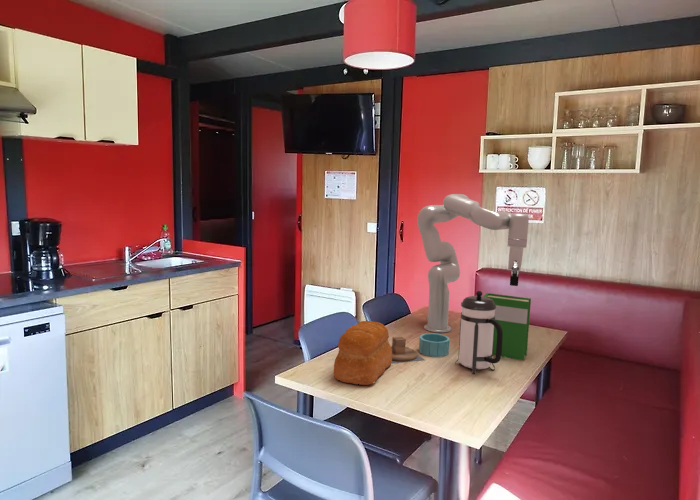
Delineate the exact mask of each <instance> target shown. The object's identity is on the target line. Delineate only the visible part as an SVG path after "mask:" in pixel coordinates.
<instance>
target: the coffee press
mask: <svg viewBox="0 0 700 500" xmlns="http://www.w3.org/2000/svg"><path fill="white" fill-rule="evenodd" d="M475 294H476V295H470V296H467V297H465V298H463V300H462V301H461V302H460V303H461V304H460V306H461V312H460V321H459V322H460V323H459V341H458V359H457V360H456V361H455V362H454V365H456V363H457V362H458V361H459V364H458V366H460V365H462V366H464V367H465V368H469V369H471V375H476V372H477V371H476V370H484V369H487V368H488V369H490V370H491V371H492V372H494V371H496V366H495V365H494V364H497V363H499V362H500V361H501V359H502V356H501V354H502V340H503V332H502V328H501V325H500V324H499V322H497V321H496V320H495V309H496V305H495V303H494V301H493V300H492V299H490V298H487V297H483V292H482V291H481V290H477V291H476V293H475ZM494 326H495V327H496V330H497V345H496V355H493V351H492V348H493V341H494V336H493V333H494ZM494 356H495V357H494ZM493 357H494V358H493ZM491 365H492V367H493V368H492V367H491Z"/></svg>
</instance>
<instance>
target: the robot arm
mask: <svg viewBox="0 0 700 500" xmlns="http://www.w3.org/2000/svg"><path fill="white" fill-rule="evenodd" d="M457 217H462V218H465V219H466V220H467V219H468V220H470V221H471V222H472V223H474V224H475V225H478V226H480V227H483V228H485V229H488V230H491V231H498V230H508V232H507V233H508V235H507V238H508V239H507V245H506V246H507V247H509V251H508V252H509V253H508V264H507V270H508V271H510V270H511V271H510V277H509V278H510V279H509V286H510V287H511V286H512V287H513V286H514V287H518V286H519V278H520V277H519V275H520V273H519V272H520V271H521V268H522V263H523V255H524V254H523V253H524V249H525V248H527V244H528V234H529V219H530V218H529V215H528V214H527V213H518V212H517V213H515V212H514V213H513V212H509V211H491V210H489V209H486V208H483V207H481V204H480V202H479V201H477V200H473V199H470V198H469V196H468V195H466V194H463V193H451V194H448V195H446V196H445V197H444V199H443V200H442V204H431V205H425V206H424V207H423V208H421V209H420V211H419V212H418V215H417V217H416V218H417V219H416V225H417V228H418V231H419V233H420V236H421V237H420V238H421V241H422V245H423V248H424V253H425V256H426V259H427V260H428V261H429V262H431V263H438V262H439V263H440V264H435V265H432V266H431V267H430V268H429V270H428V272H427V279H428V288H429V289H428V310H427V311H428V312H427V318H426V321H427V323H426V324H425V325H424V326H423V327H424V329H425V330H426V331H428V332H431V333H437V334H440V333H448V332H450V331H452V327H451V326H450V325H449V324H448V323H449V308H450V307H449V306H450V290H449V286H448V284H449V283H454V282H456V281H457V280H459V278H460V274H461V270H460V265H459V261H458V258H457V253H456V250H455V248H454V246H453V245H452V244H451V243H450V242H448V241H445V240H444V241H442V239H441V236H440V232H439V231H438V229H437V226H435V224H436V223H447V222H449V221H452V220H454V219H455V218H457Z"/></svg>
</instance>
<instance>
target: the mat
mask: <svg viewBox="0 0 700 500" xmlns="http://www.w3.org/2000/svg"><path fill="white" fill-rule="evenodd" d="M405 347H406V348H410V347H409V346H405ZM419 361H420V362H423V361H426V359H425V358H423V357H422V356H420V355H419V354H418V353H417V358H416V359H414V360H412V361H406V362H405V363H412V362H419ZM401 363H404V362H397V361H392V362H391V365H392V364H401Z"/></svg>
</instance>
